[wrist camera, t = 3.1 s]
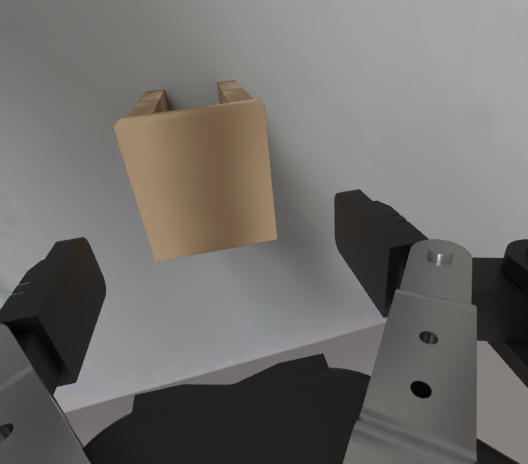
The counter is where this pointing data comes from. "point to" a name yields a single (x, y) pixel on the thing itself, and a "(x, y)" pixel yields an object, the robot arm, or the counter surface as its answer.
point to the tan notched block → (200, 172)
